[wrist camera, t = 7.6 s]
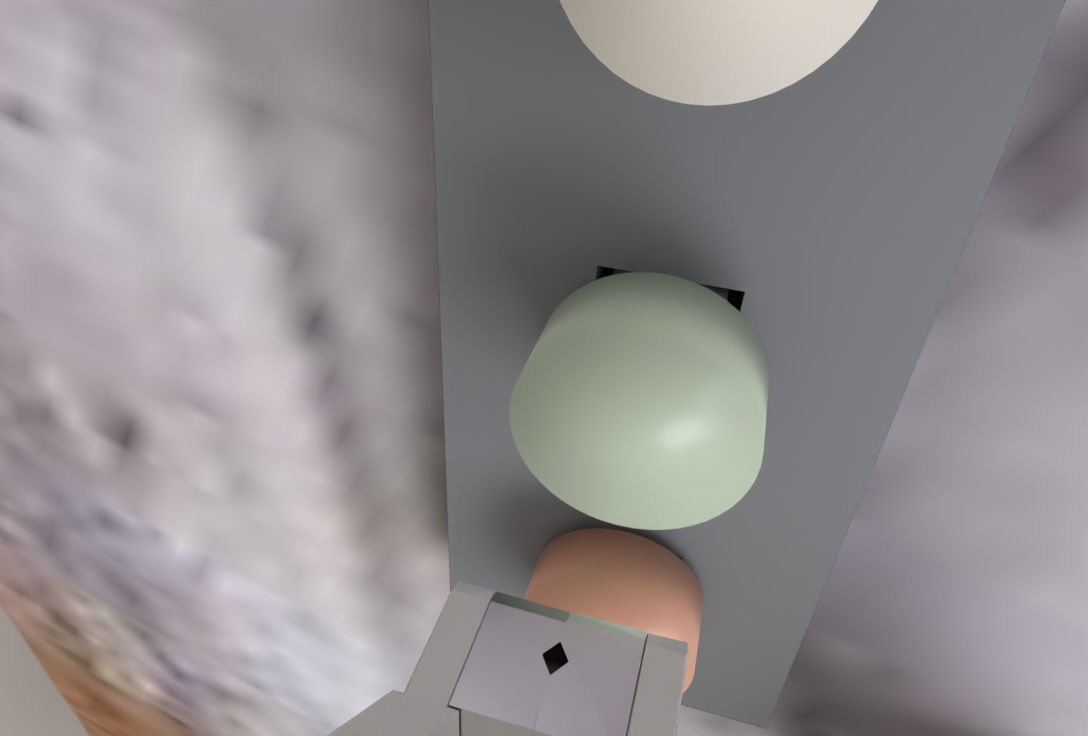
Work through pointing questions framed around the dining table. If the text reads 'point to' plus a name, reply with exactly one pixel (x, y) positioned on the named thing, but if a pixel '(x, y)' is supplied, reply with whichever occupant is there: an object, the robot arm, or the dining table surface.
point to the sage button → (644, 402)
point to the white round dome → (714, 43)
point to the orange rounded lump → (621, 585)
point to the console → (713, 273)
